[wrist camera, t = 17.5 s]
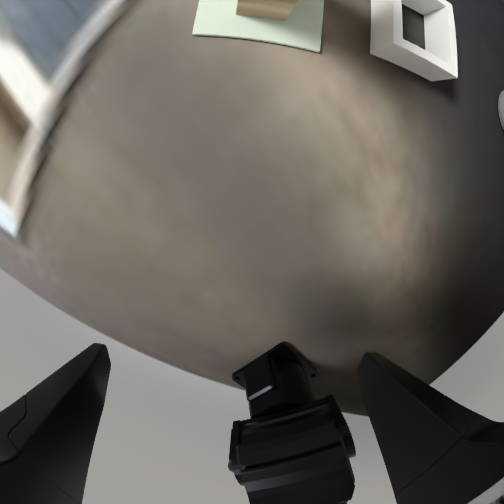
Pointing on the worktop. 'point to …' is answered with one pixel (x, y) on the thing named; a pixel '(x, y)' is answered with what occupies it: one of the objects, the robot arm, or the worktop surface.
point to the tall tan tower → (266, 8)
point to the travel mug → (501, 108)
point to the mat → (262, 24)
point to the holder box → (407, 54)
